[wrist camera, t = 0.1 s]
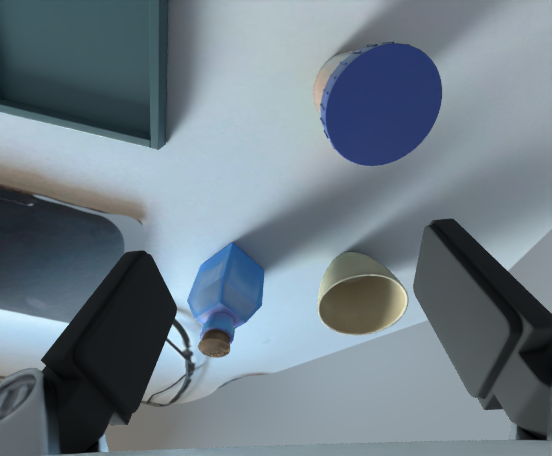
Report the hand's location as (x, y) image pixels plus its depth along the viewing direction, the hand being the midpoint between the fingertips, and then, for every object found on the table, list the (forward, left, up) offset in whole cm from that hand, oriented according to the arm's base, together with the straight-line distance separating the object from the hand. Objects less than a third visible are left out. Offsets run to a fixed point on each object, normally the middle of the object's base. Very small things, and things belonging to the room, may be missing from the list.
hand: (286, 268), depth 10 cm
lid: (+1, +7, -10) cm, 12 cm away
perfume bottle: (+11, -16, -21) cm, 29 cm away
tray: (-16, -10, -21) cm, 28 cm away
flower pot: (+20, -3, -21) cm, 29 cm away
